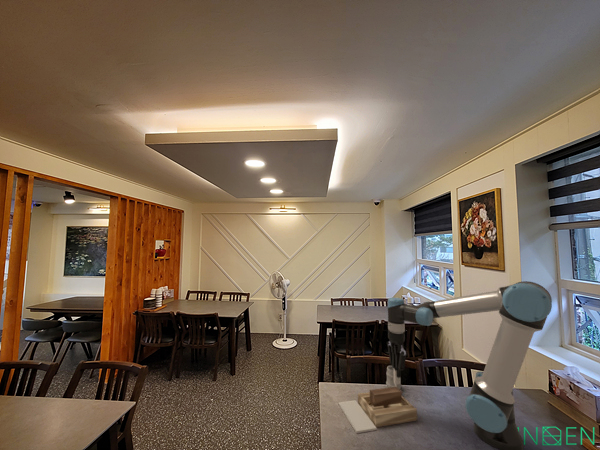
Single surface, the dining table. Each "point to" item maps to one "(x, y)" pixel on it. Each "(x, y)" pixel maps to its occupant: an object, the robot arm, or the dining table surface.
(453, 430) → the dining table surface
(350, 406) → the felt mat
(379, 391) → the walnut bar
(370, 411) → the pocket board
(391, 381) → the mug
